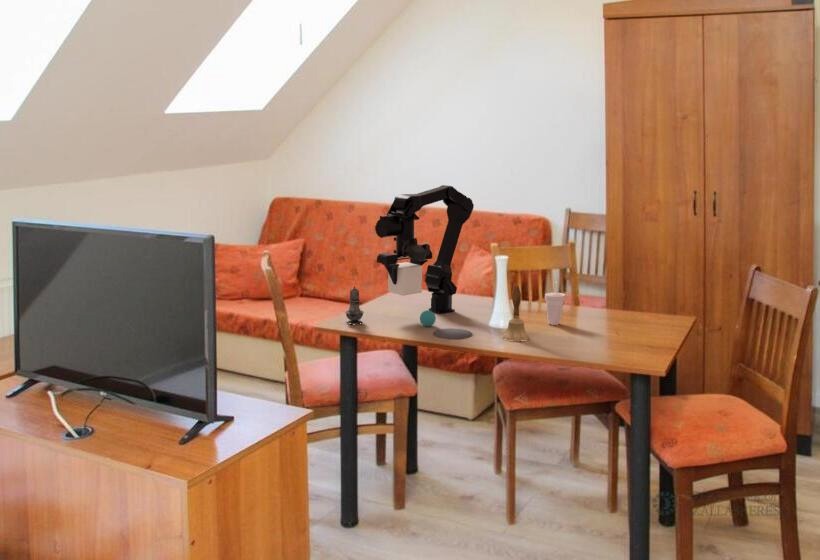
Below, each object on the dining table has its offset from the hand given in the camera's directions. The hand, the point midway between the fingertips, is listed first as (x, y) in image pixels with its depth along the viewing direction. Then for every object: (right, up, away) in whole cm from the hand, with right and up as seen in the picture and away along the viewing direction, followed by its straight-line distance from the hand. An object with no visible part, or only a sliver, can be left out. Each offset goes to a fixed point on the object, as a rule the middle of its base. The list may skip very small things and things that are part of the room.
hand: (404, 282), depth 312 cm
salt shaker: (-16, -13, -4) cm, 21 cm away
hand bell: (+34, -17, -20) cm, 42 cm away
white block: (0, -3, 0) cm, 3 cm away
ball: (+7, -11, -7) cm, 15 cm away
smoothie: (+48, -13, -2) cm, 49 cm away
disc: (+15, -16, -16) cm, 27 cm away
